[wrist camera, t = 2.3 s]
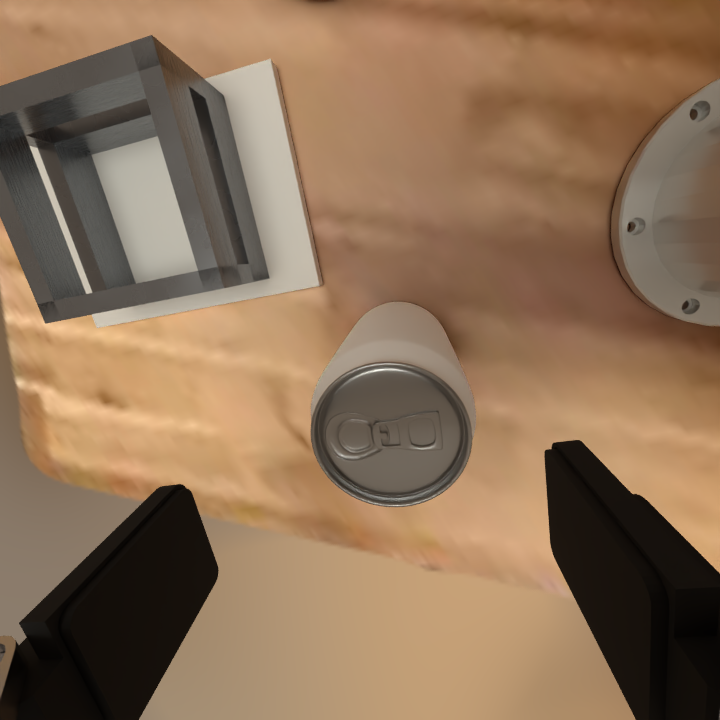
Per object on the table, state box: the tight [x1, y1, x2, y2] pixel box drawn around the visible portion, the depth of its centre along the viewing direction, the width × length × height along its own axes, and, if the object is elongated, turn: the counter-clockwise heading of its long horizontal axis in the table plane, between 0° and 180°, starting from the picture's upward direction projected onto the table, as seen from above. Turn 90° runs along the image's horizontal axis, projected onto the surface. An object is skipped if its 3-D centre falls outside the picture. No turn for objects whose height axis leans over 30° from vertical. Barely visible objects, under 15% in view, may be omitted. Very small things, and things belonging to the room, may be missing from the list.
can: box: [311, 302, 476, 507], centre depth 18 cm, size 6×6×12 cm
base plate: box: [30, 59, 323, 328], centre depth 23 cm, size 16×12×1 cm
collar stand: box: [0, 35, 270, 324], centre depth 19 cm, size 10×10×6 cm
